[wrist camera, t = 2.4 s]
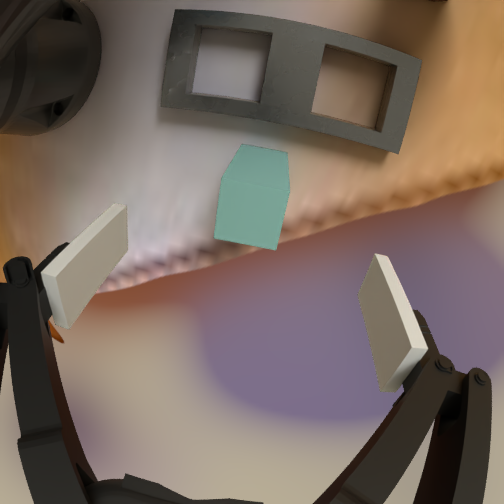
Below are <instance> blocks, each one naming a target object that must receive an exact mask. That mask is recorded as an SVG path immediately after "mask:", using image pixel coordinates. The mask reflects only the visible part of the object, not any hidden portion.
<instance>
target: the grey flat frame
mask: <svg viewBox="0 0 504 504" xmlns="http://www.w3.org/2000/svg"><path fill="white" fill-rule="evenodd" d="M202 28H212V29H224V30H234V31H243V32H251V33H258V34H265V35H271V36H272V41H271V46H270V52H269V57H268V62H267V67H266V73H265V78H264V83H263V89H262V94H261V99H260V102H259V101H253V100H247V99H240V98H234V97H227V96H219V95H211V94H202V93H193V92H192V89H193V82H194V75H195V68H196V62H197V56H198V50H199V44H200V38H201V33H202ZM324 47H328V48H332V49H336V50H340V51H343V52H347V53H351V54H354V55H357V56H361V57H364V58H367V59H370V60H373V61H376V62H379V63H382V64H385V65H388V66H390V68H389V72H388V77H387V81H386V86H385V90H384V94H383V98H382V103H381V107H380V111H379V115H378V119H377V123H376V127H375V129H373V128H370V127H366V126H363V125H359V124H356V123H352V122H349V121H345V120H341V119H337V118H334V117H330V116H326V115H322V114H317V113H313V112H311V109H312V104H313V100H314V95H315V90H316V86H317V81H318V76H319V71H320V66H321V62H322V57H323V52H324ZM421 63H422V60H420V59H418V58H415V57H413V56H410V55H408V54H405V53H403V52H400V51H398V50H395V49H392V48H389V47H387V46H384V45H381V44H378V43H375V42H372V41H369V40H366V39H363V38H360V37H356V36H353V35H349V34H346V33H342V32H339V31H335V30H331V29H327V28H323V27H319V26H315V25H310V24H306V23H301V22H296V21H291V20H285V19H279V18H273V17H267V16H260V15H253V14H244V13H235V12H224V11H209V10H180V9H175V12H174V18H173V23H172V29H171V34H170V40H169V47H168V53H167V60H166V67H165V74H164V81H163V89H162V98H161V107H169V108H180V109H189V110H198V111H206V112H214V113H221V114H228V115H235V116H241V117H247V118H253V119H259V120H264V121H270V122H275V123H280V124H285V125H290V126H295V127H299V128H304V129H308V130H313V131H317V132H321V133H325V134H329V135H333V136H337V137H341V138H345V139H349V140H352V141H356V142H360V143H363V144H367V145H370V146H373V147H377V148H380V149H383V150H387V151H390V152H393V153H396V154H399V151H400V148H401V144H402V141H403V137H404V134H405V130H406V126H407V123H408V119H409V115H410V111H411V107H412V103H413V99H414V95H415V91H416V86H417V82H418V77H419V73H420V68H421Z"/></svg>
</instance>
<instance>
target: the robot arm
mask: <svg viewBox="0 0 504 504" xmlns="http://www.w3.org/2000/svg"><path fill="white" fill-rule="evenodd" d="M100 58H101V37H100V31H99V27H98V24H97V21H96V19H95V17H94V15H93V14H92V12H91V11H90V10H89V8H88V7H87V6H85V5H84V4H83V3H81V2H80V1H78V0H0V134H13V135H25V136H32V135H38V134H42V133H45V132H47V131H50V130H53V129H55V128H58V127H60V126H61V125H63V124H65V123H66V122H67V121H69V120H70V119H71V118H72V117H73V116H74V115H75V114H76V113H77V112H78V111H79V110H80V108H81V107H82V106H83V104H84V103H85V101H86V99H87V98H88V96H89V94H90V92H91V90H92V88H93V85H94V83H95V80H96V77H97V73H98V70H99V65H100ZM127 251H128V233H127V205H122V204H116V203H114V204H113V205H112V206H111V207H110V208H108V209H107V210H106V211H105V212H104V213H103V214H102V215H100V216H99V217H98V218H97V219H96V220H95V221H94V222H93V223H91V224H90V225H89V226H88V227H87V228H86V229H85V230H84V231H83V232H82V233H81V234H79V235H78V236H77V237H76V238H75V239H74V240H73V241H72V242H71V243H67V242H66V243H64V244H62V245H60V246H58V247H57V248H56V249H54V250H53V251H52V252H51V254H49V255H48V256H47V257H46V259H44V260H43V261H42V262H41V263H40V264H39V265H38V266H37V267H36V268H35V269H34V270H33V267H32V263H31V260H30V259H29V258H27V257H23V256H21V257H15V258H12V259H11V260H9V261H7V262H6V264H5V265H4V267H3V271H4V275H5V278H6V281H7V283H0V390H1V382H2V376H3V370H4V364H5V358H6V353H7V348H8V343H9V356H10V368H11V377H12V385H13V392H14V399H15V405H16V410H17V416H18V422H19V427H20V431H21V438H19V439H18V443H17V444H18V451H19V455H20V458H21V462H22V466H23V470H24V473H25V476H26V480H27V483H28V486H29V490H30V493H31V496H32V499H33V501H34V504H263V503H262V502H252V501H244V500H236V499H230V498H229V499H210V500H192V499H189V498H186V497H184V496H182V495H180V494H178V493H176V492H174V491H172V490H170V489H168V488H166V487H164V486H162V485H160V484H158V483H155V482H151V481H148V480H145V479H141V478H138V477H135V476H132V475H128V474H125V477H124V479H108V480H102V481H97V478H96V477H95V474H94V473H93V471H92V469H91V467H90V465H89V463H88V461H87V459H86V457H85V454H84V451H83V449H82V446H81V443H80V441H79V438H78V435H77V432H76V429H75V426H74V423H73V420H72V417H71V414H70V411H69V407H68V404H67V400H66V397H65V393H64V390H63V386H62V382H61V378H60V375H59V370H58V366H57V362H56V357H55V352H54V347H53V343H52V337H51V332H50V326H49V323H48V320H49V318H50V317H51V315H53V319H54V322H55V325H58V326H60V327H63V328H66V329H70V328H71V326H72V325H73V323H74V322H75V320H76V319H77V318H78V316H79V315H80V313H81V312H82V311H83V309H84V308H85V306H86V305H87V304H88V302H89V301H90V299H91V298H92V297H93V295H94V294H95V293H96V291H97V290H98V289H99V287H100V286H101V285H102V283H103V282H104V281H105V279H106V278H107V277H108V275H109V274H110V273H111V271H112V270H113V269H114V267H115V266H116V265H117V264H118V262H119V261H120V260H121V258H122V257H123V256H124V255H125V253H126V252H127ZM358 299H359V303H360V306H361V310H362V314H363V318H364V322H365V326H366V330H367V334H368V338H369V342H370V347H371V351H372V355H373V360H374V364H375V369H376V374H377V378H378V383H379V388H380V392H396V391H397V390H398V389H399V387H400V386H401V385H402V384H403V388H404V392H403V393H402V395H401V396H400V397H399V398H398V399H397V401H396V402H395V403H394V404H393V408H392V409H391V411H390V412H389V413H388V415H387V416H386V418H385V419H384V420H383V422H382V423H381V424H380V426H379V427H378V429H377V430H376V431H375V433H374V434H373V435H372V437H371V438H370V439H369V440H368V442H367V443H366V444H365V445H364V447H363V448H362V449H361V450H360V452H359V453H358V454H357V455H356V457H355V458H354V459H353V460H352V461H351V463H350V464H349V465H348V466H347V467H346V469H345V470H344V471H343V472H342V473H341V474H340V475H339V476H338V478H337V479H336V480H335V481H334V482H333V483H332V484H331V485H330V486H329V487H328V488H327V489H326V491H325V492H324V493H323V494H322V495H321V496H320V497H319V498H318V499H317V500H316V501H315V502H314V503H313V504H383V503H384V502H385V501H386V499H387V498H388V496H389V495H390V493H391V492H392V490H393V489H394V488H395V486H396V485H397V483H398V482H399V480H400V479H401V477H402V475H403V474H404V472H405V471H406V469H407V467H408V466H409V464H410V463H411V461H412V459H413V458H414V456H415V454H416V452H417V451H418V449H419V447H420V445H421V443H422V442H423V440H424V438H425V436H426V434H427V432H428V431H429V429H430V427H431V425H432V423H433V421H434V419H435V422H434V427H433V431H432V436H431V441H430V445H429V449H428V454H427V457H426V461H425V465H424V469H423V472H422V476H421V479H420V483H419V486H418V489H417V493H416V496H415V499H414V502H413V504H482V503H483V498H484V492H485V486H486V479H487V471H488V462H489V453H490V440H491V420H492V418H491V417H492V390H491V389H492V388H491V387H492V386H491V379H490V378H489V376H488V374H487V373H486V372H485V371H483V370H482V369H480V368H472V369H471V370H470V371H469V372H468V374H464V373H461V372H458V371H456V370H455V368H454V365H453V363H452V362H451V361H450V360H449V359H448V358H447V357H445V356H443V355H440V354H439V351H438V349H437V346H436V344H435V342H434V339H433V337H432V334H430V333H431V332H430V330H429V328H428V325H427V323H426V321H425V318H424V317H423V316H422V315H421V314H420V312H419V311H418V310H412V308H411V306H410V304H409V301H408V299H407V297H406V295H405V292H404V290H403V288H402V286H401V284H400V281H399V279H398V277H397V275H396V273H395V271H394V269H393V267H392V264H391V262H390V260H389V258H388V257H387V256H384V255H379V254H374V257H373V260H372V262H371V264H370V267H369V269H368V272H367V274H366V276H365V279H364V281H363V283H362V286H361V288H360V290H359V292H358Z"/></svg>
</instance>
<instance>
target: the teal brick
mask: <svg viewBox="0 0 504 504" xmlns="http://www.w3.org/2000/svg"><path fill="white" fill-rule="evenodd" d="M289 193H290V184H289V168H288V153H287V152H282V151H277V150H272V149H267V148H262V147H256V146H251V145H245V144H242V145H241V146H240V148H239V150H238V151H237V153H236V155H235V156H234V158H233V160H232V161H231V163H230V165H229V167H228V168H227V170H226V172H225V173H224V175H223V177H222V178H221V185H220V193H219V200H218V207H217V215H216V223H215V231H214V238H215V239H220V240H225V241H230V242H236V243H241V244H246V245H251V246H256V247H262V248H267V249H272V250H276V248H277V244H278V240H279V236H280V232H281V228H282V223H283V219H284V215H285V211H286V206H287V202H288V198H289Z"/></svg>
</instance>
